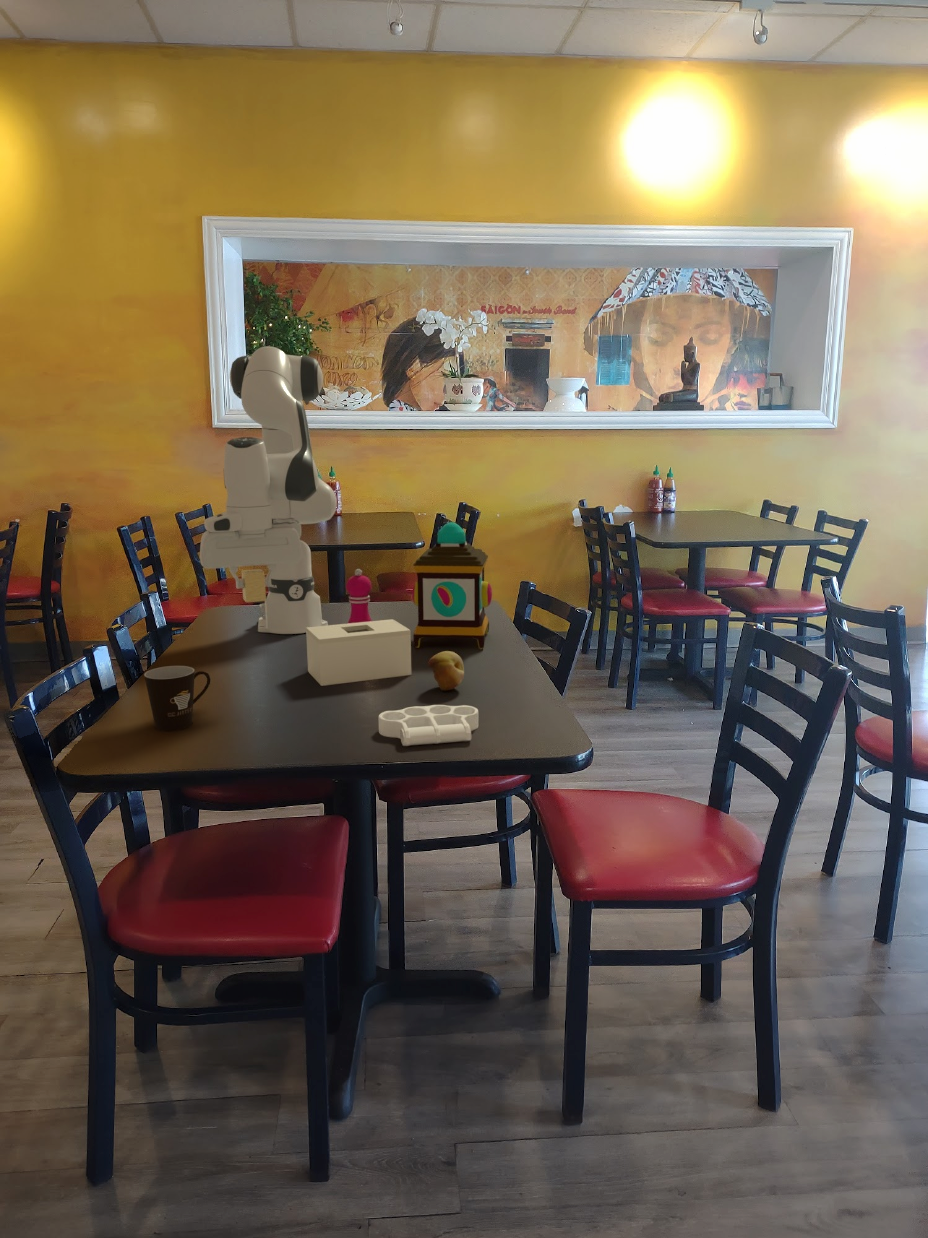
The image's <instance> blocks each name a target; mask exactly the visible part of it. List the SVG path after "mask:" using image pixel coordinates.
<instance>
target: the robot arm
mask: <svg viewBox="0 0 928 1238" xmlns="http://www.w3.org/2000/svg"><path fill="white" fill-rule="evenodd" d="M229 382H230V386H231V388H232V392H233V394H234V395H235V396H236V397H237V398H238V399H241V406H242V408H243V410H244V412H245V414H246V415H247V416H248V417H249V418H250V419H251V420H252V421H254V422H255V423H257V424H259V425H260V426H261V437H262V439H261V438H259V437H254V436H253V437H251V436H242V437H235V438H231V439H230V440H228V441H226V443H225V445H224V447H225V448H224V457H223V458H224V459H223V460H224V461H223V482H224V483H223V484H224V488H225V489H226V495H227V496H226V497H227V498H226V502H225V506H226V507H225V508H226V510H225V512H221V513H218V514H217V515H216V514H215V515H213V516H210V517H207V518H206V519H204V522H203V526H204V529H205V530H206V531H205V532H203V534H202V535H201V537H200V538H201V539H200V546H199V560H200V561H199V562H200V565H201V566H202V567H203V568H204V569H206V570H209V569H211V570H212V569H225V568H226V569H227V568H228V569H229V573H230V574H231V575H232V577H233V578H234V580H235V587H236V590H239V589H240V590H241V589H242V590H243V588H244V580H243V579H242V578H239V576H238V575H237V574H236V573H238V572H239V568H240V567H254V566H256V567H257V566H267V567H266V568H267V569H268V572H267V574H266V576H265V588H266V587H267V591H268V594H267V596H266V601H264V603H260V604H259V613H261V614H262V613H263V614H262V616H261V617H259V618H258V624H257V632H258V633H270V634H277V635H279V634H280V635H293V634H295V635H296V634H304V633H305V634H306V627H317V626H327V625H329V624H328V620H324V619H323V615H322V606H321V603H322V602H321V596H320V595H318V594H317V593H316V592H315V591H314V589H315V579H314V576H313V574H312V553H311V549H310V547H309V545H308V544H307V542H305V541H303V540H302V539H301V538H302V531H303V530H302V525H312V524H313V525H314V524H317V523H323V522H326V521H329V520H331V519H332V517H334V515H335V513H336V510H337V507H338V506H337V505H338V504H337V503H338V500H337V496H336V494H335V492H334V490H333V488H332V487H331V486H330V485H329V484H328V483H326V481H325V482H324V481H323V480H322V479H321V477H319V472H318V467H317V464H316V462H315V459H314V457H313V448H312V441H311V435H310V428H309V421H308V418H307V413H306V410H305V407H304V404H305V406H307V405H309V404H310V402H312V401H314V400H316V399H317V398H318V397H319V396H320V394H321V391H322V388H323V385H324V374H323V369H322V368H321V366H320V363H319V361H318V360H317V358H314V357H312V356H309V355H302V356H299V355H292V354H286V353H285V352H284V351H283V350H281V349H279V348H278V347H274V346H270V345H269V346H261V347H259V348H257V349H256V350H255V351H253V353H252V354H251V355H247V354H246V355H242V356H239V357H238V356H237V358H235V359H234V360H233V361H232V364H231V367H230V371H229Z"/></svg>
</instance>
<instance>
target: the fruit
mask: <svg viewBox="0 0 928 1238" xmlns="http://www.w3.org/2000/svg"><path fill="white" fill-rule="evenodd" d="M427 665H428V668H430V669H431V670H432V672H433V677H434V680H435V681H436V682H437V686H438V687H439V689H440V690H441V691H451V690H454V689H455V688H456V687H458V686H459V685H460V684H461V682H463V681H462V680H463V679H464V677H465V665H464V662H463V659H462V657H461V656H460V655H458V654H457V653H455V651H449V650H445V651H441V652H438V653H436V654H435V655H432V657H431V658H429V659H428V664H427Z"/></svg>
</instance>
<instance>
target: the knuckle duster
mask: <svg viewBox="0 0 928 1238" xmlns="http://www.w3.org/2000/svg"><path fill="white" fill-rule="evenodd" d="M377 717H378V734H380V735H381V736H383V737H386V738H387V737H388V738H398V739H400V742H401V744H402V746H403V747H409V746H419V745H433V744H437V745H438V744H444V743H445V744H446V743H457V742H458V743H459V742H470V741H471V740H472V732H473V731H475V730H476V729H478V728H479V709H478V708H477V707H475V706H472V705H468V704H467V705H466V704H462V705H447V704H446V705H445V704H432V705H425V706H417V705H416V706H409V707H404V708H403V709H402V708H401V709H397V710H385V711H382V712H381V713H380V714H379V715H378V716H377Z"/></svg>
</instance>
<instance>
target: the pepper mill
mask: <svg viewBox="0 0 928 1238" xmlns="http://www.w3.org/2000/svg"><path fill="white" fill-rule="evenodd" d="M371 582H372V581H371V579H369V577H367V576H365V575H363V570H361V569H360V568H356V569H355V570H354V575H353V576H351V577H350V578H348V580H347V581H346V584H345V586H346V587H345V589H346V591H347V593H348V594H349V595H348V602H349V603H350V616H349V619H348V622H347V624H348V623H359V622H369V621H373V620H372V619H371V616H370V612H369V602H370V601H371V599H370V598H371V596H370V595H369V593H370V592H371V591H372V583H371Z"/></svg>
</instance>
